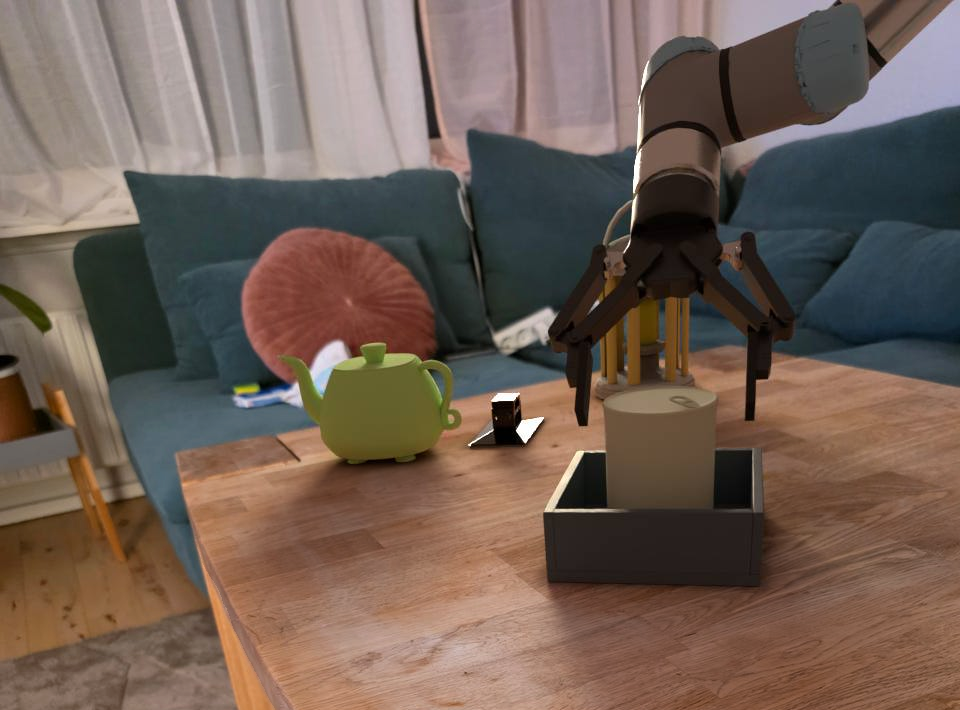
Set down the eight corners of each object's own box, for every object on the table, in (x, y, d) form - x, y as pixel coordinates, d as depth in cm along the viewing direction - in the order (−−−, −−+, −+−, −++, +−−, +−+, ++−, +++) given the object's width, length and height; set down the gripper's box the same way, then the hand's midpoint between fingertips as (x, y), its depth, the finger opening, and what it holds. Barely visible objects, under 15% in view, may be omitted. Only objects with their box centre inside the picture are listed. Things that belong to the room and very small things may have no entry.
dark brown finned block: (525, 446, 108) (522, 408, 106) (467, 448, 110) (463, 410, 108) (544, 419, 119) (542, 383, 117) (491, 420, 121) (488, 386, 119)
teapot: (275, 474, 108) (252, 363, 101) (317, 439, 120) (299, 339, 114) (451, 468, 103) (438, 351, 97) (476, 432, 116) (466, 327, 110)
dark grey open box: (758, 510, 82) (761, 447, 79) (760, 586, 68) (764, 512, 65) (579, 510, 87) (577, 450, 84) (547, 581, 73) (542, 512, 70)
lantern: (680, 374, 134) (682, 190, 123) (707, 395, 122) (712, 192, 110) (586, 385, 134) (580, 201, 123) (604, 406, 122) (598, 204, 110)
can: (657, 563, 71) (657, 413, 66) (584, 534, 78) (578, 396, 73) (737, 531, 75) (744, 388, 70) (661, 506, 82) (661, 375, 77)
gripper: (820, 219, 79) (820, 433, 73) (544, 244, 86) (524, 442, 80) (831, 152, 72) (831, 382, 66) (529, 184, 79) (505, 396, 73)
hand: (663, 415), depth 73 cm, fingers open, 13 cm apart
